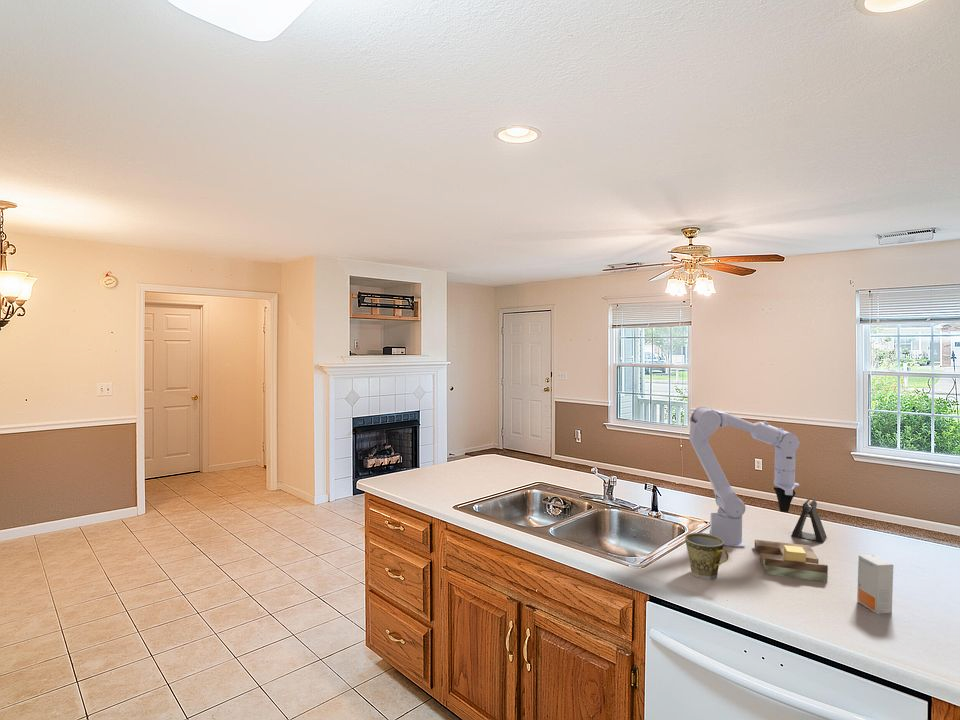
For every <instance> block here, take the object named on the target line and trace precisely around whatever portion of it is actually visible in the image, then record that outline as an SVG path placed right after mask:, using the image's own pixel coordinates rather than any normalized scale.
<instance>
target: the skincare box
mask: <svg viewBox="0 0 960 720" xmlns="http://www.w3.org/2000/svg"><path fill="white" fill-rule="evenodd" d="M857 563H858V566H857V567H858V568H857V598H856V601H857V603H859V604H861V605H862V606H864V607H865V608H867V609H868V610H870V611H871V612H873V613H874V614H876V615H880V614H881V615H882V614H893V613H892V612H893V589H894V587H893V586H894V581H893V580H894V564H893V563H891V562H889V561H887V560H885V559H883V558H881V557H879V556H877V555H874V554H861V555H858V562H857Z"/></svg>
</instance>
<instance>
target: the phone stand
mask: <svg viewBox="0 0 960 720" xmlns="http://www.w3.org/2000/svg"><path fill="white" fill-rule="evenodd" d="M817 504H818V503H817V501H816V500H815V499H812V500H811V498H809V499H807V500H806V501H805V502H804V503H803V504H802V506H801V507H802V511H801V514H800V516H799V517H798V520H797V522H796V523H795V526H794V529H793V530H792V532H791V535H790V536H791V537H792V538H796V539H802V540H807V541H812V542H815V543H819V544H823V543H824V542H825V540H826V539H827V537H828V536H827V533H826V531H825V529H824V526H823V523H822V519H821V518H820V515H819V512H818V510H817V506H818V505H817ZM808 515H809V518H810V521H811V525H812V528H813V531H814V533H811V532H810V533H809V532H806V531H803V528H804V526H805V522H806V520H807V517H808Z"/></svg>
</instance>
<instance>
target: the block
mask: <svg viewBox="0 0 960 720" xmlns="http://www.w3.org/2000/svg"><path fill="white" fill-rule="evenodd" d="M784 560H790V561H798V562H806V553H805V551H804V549H803V548H802V547H796V546H787V545H784Z"/></svg>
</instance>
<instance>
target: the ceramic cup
mask: <svg viewBox="0 0 960 720" xmlns="http://www.w3.org/2000/svg"><path fill="white" fill-rule="evenodd" d="M684 536H685V537H684V539H685V545H686V551H687V554H688V559H689V566H690V571H691V575H692V576H694V577H696V578H697V579H700V580H701V579H702V580H708V581H711V580H715V579H717V577H718V573H719V567H720V566H721V564H723V563H726V562H727V561H728V560H729V553H728V551H727V550H726V549H724V546H725V545H724V541H723V539H721V538H720V537H717V536H715V535H711V534H710V533H705V532H692V533H688V534H686V535H684ZM723 554H724V555H725V559H724V560H722V561H721V559H722V555H723Z"/></svg>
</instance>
